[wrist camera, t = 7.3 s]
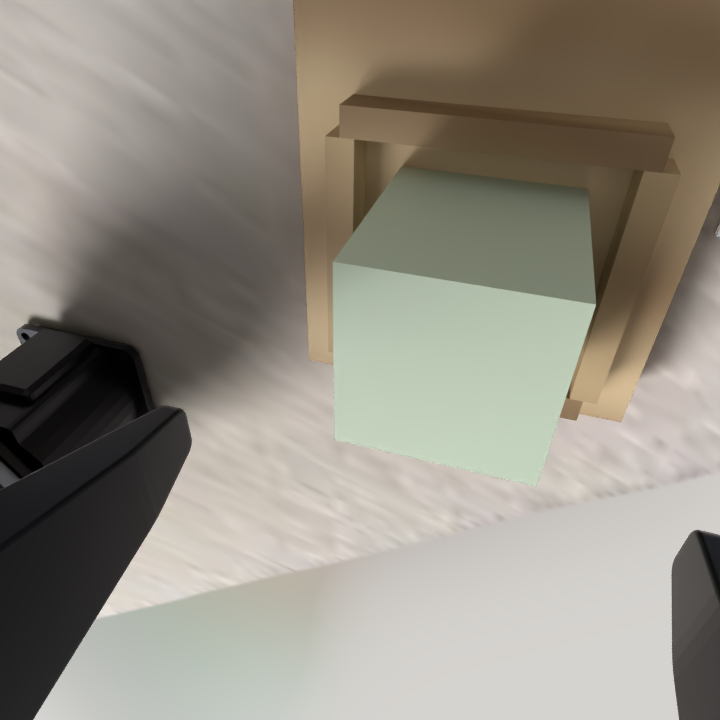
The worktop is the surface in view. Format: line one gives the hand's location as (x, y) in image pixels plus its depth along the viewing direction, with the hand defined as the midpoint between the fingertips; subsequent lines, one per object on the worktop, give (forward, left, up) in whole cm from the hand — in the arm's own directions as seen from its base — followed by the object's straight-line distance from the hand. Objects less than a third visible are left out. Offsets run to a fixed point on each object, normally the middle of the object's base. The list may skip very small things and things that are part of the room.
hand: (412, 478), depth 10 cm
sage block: (0, 0, -9) cm, 9 cm away
